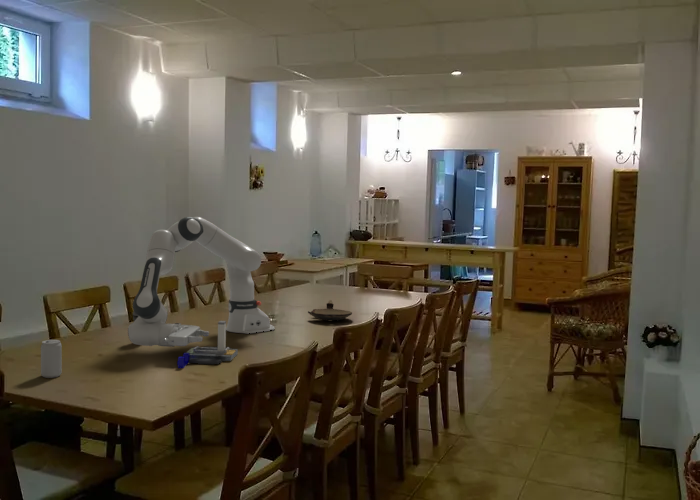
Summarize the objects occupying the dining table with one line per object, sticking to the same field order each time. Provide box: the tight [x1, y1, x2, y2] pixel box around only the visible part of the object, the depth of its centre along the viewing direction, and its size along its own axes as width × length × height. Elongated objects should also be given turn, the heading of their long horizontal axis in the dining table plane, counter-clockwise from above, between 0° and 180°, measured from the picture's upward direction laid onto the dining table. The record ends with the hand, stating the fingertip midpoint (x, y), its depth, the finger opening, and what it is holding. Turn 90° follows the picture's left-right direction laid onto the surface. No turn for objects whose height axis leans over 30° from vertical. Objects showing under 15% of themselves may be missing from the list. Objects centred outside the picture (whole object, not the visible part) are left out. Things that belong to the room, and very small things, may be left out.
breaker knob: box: [217, 320, 227, 351], centre depth 252 cm, size 2×3×12 cm
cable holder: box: [176, 352, 190, 369], centre depth 240 cm, size 8×4×4 cm, turn 178°
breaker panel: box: [185, 345, 239, 362], centre depth 253 cm, size 18×12×4 cm, turn 87°
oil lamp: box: [307, 299, 353, 321], centre depth 337 cm, size 22×30×8 cm
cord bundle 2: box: [189, 359, 223, 365], centre depth 243 cm, size 12×3×1 cm, turn 87°
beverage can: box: [40, 339, 63, 379], centre depth 221 cm, size 6×6×12 cm
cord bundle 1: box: [203, 345, 232, 349], centre depth 263 cm, size 12×3×1 cm, turn 87°
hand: (205, 336), depth 253 cm, fingers open, 8 cm apart
